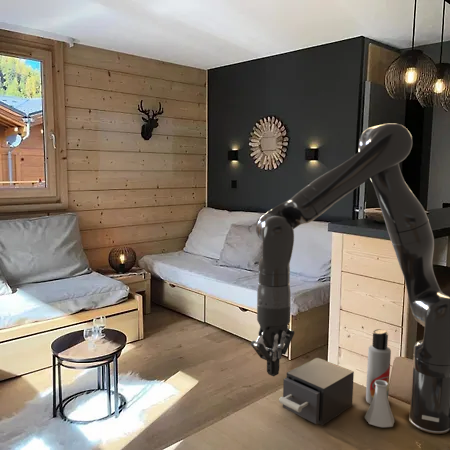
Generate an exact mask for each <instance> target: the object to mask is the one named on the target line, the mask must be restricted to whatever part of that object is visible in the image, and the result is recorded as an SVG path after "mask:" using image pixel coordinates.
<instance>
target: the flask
mask: <svg viewBox="0 0 450 450" xmlns="http://www.w3.org/2000/svg"><path fill="white" fill-rule="evenodd" d="M375 385H376V389H375V394H374V397H373V400H372V402H371V404H369V407H368V408H367V411H366V413H365V415H364V419H365V421H366V422H368V424H369V425H372V426H373V427H374V426H375V427H378V428H393V427H394V423H395V417H394V415H393V412H392V409H391V406H390V402H389V397H388V398H387V386H388V383H387V382H386V381H383V380H376V381H375Z"/></svg>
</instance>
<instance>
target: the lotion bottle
mask: <svg viewBox="0 0 450 450" xmlns="http://www.w3.org/2000/svg"><path fill="white" fill-rule="evenodd" d="M388 342H389V333H388V331H387V330H385V329H380V328H379V329H374V330H373V332H372V344H371V345H369V346H368V349H367V367H366V368H367V369H366V384H365V385H366V387H365V401H366V403H367V404H369V405H370V404H371V402H372V400H373V397H374V394H375V389H376V385H375V381H376V380H383V381H386V382H387V383H388V386H387V398H388V399H389V393H390V392H389V391H390V390H389V389H390V376H391V375H390V373H391V359H392V350H391V348H390V347H389V346H388V344H389V343H388Z"/></svg>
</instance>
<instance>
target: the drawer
mask: <svg viewBox="0 0 450 450" xmlns="http://www.w3.org/2000/svg"><path fill="white" fill-rule="evenodd" d="M282 382H283V385H282V387H283V388H282V396H280V397H279V398H278V402H279V404H281V405H282V408H283V409H285V410H287V411H289V412H291V413H293V414H295V415H297V416H299V417H301V418H303V419H305V420H307V421H309V422H311V423H312V424H314V425H317V424H319V423H318V422H319V418H320V408H321V390H318V389H316V388H314V387H312V386H309V385H307V384H305V383H303V382H300V381H298V380H296V379H294V378H292V380H290V379H288V378H287V377H285V378H283V381H282Z"/></svg>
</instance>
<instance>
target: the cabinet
mask: <svg viewBox="0 0 450 450" xmlns="http://www.w3.org/2000/svg"><path fill="white" fill-rule="evenodd" d="M354 376H355V371H354V370H352V369H348V368H345V367H343V366H340V365H338V364H335V363H332V362H330V361H327V360H325V359H322V358H320V357H315V358H313V359H312V360H310V361H307V362H305V363H304V364H301V365H299V366H297V367H295V368H293V369H291V370H288V371H286V378H288V379H290V380H292V378H294V379H296V380H298V381H300V382H303V383H305V384H307V385H309V386H312V387H314V388H316V389H318V390H321V408H320V418H319V422H318V423H317V424H319V425H321V426H324V425H325V424H327V423H328V422H330V421H331V420H333V419H335V418H336V417H338V416H339V415H341V414H342V413H343V412H345V411H346V410H348V409H349V408H351V407H352V406H353V398H354V397H353V396H354Z"/></svg>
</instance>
